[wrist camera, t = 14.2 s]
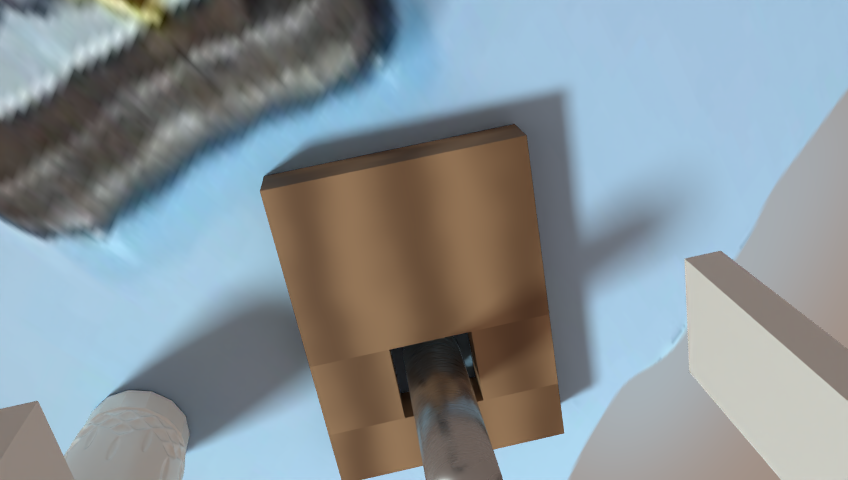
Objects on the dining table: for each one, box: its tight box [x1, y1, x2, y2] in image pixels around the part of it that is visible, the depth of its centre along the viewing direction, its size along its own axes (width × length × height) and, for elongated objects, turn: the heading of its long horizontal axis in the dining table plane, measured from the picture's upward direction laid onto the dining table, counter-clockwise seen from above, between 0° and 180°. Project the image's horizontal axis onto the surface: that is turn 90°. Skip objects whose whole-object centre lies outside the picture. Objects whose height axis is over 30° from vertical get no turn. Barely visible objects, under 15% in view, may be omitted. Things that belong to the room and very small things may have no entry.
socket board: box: [260, 124, 564, 480], centre depth 49 cm, size 16×22×3 cm
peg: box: [403, 336, 503, 480], centre depth 45 cm, size 4×4×14 cm
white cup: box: [64, 390, 190, 480], centre depth 46 cm, size 8×8×10 cm
